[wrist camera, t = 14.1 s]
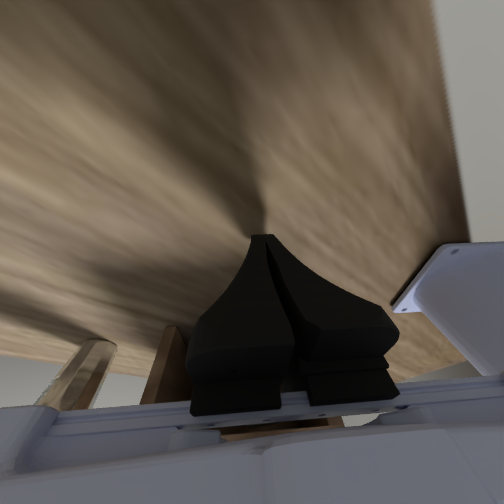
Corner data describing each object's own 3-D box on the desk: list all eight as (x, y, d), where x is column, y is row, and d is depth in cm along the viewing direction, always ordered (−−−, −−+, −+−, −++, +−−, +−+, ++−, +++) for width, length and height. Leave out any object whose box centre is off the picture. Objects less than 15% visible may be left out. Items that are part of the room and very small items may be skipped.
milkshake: (55, 336, 17) (-103, 526, 9) (114, 334, 18) (11, 514, 10) (80, 357, 20) (-24, 517, 12) (131, 354, 20) (62, 508, 12)
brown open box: (307, 318, 18) (351, 446, 11) (292, 363, 25) (313, 461, 18) (166, 326, 17) (117, 469, 10) (189, 370, 24) (170, 475, 17)
